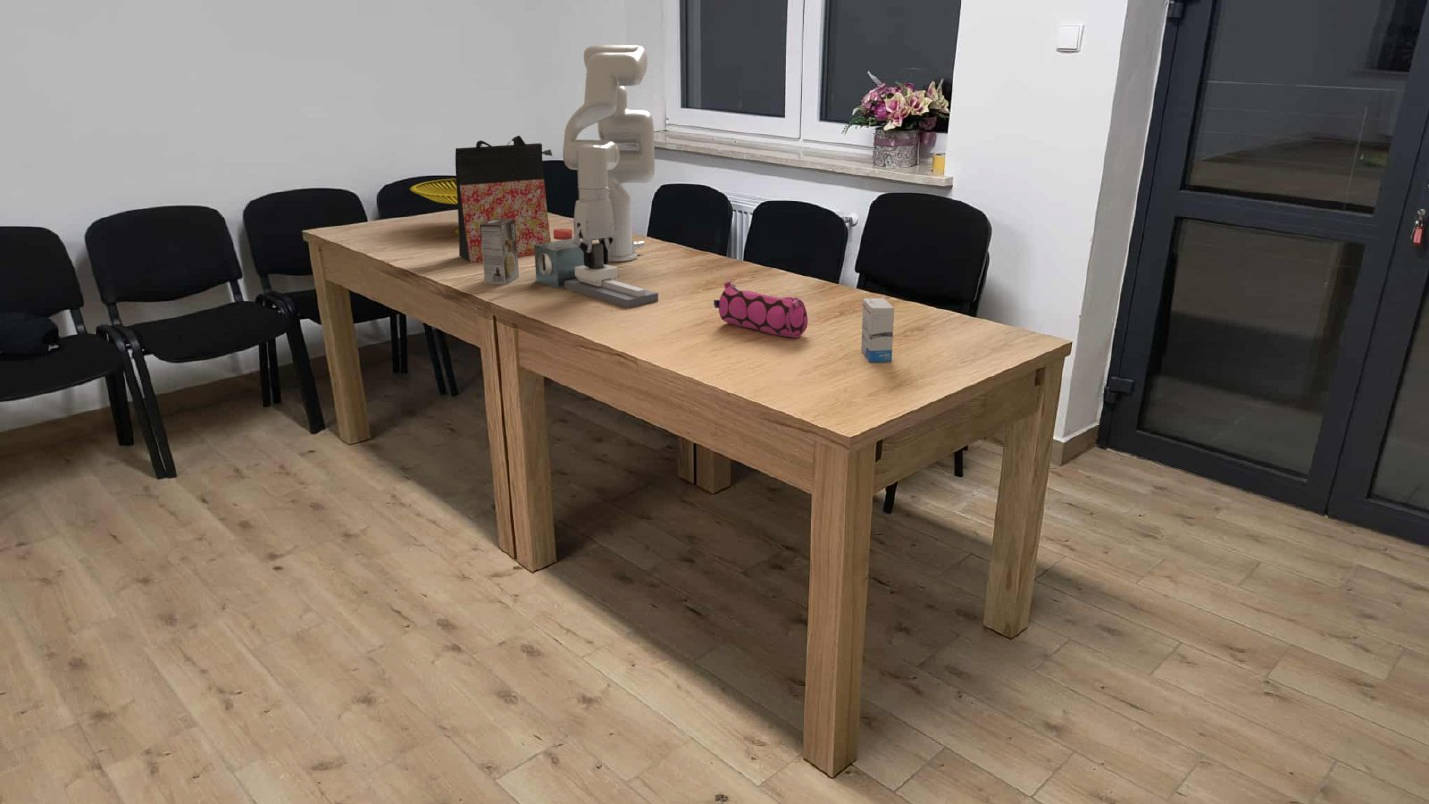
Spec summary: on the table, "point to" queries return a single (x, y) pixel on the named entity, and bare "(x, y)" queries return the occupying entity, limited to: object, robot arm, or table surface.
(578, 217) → the robot arm
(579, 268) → the carriage
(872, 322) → the ink box
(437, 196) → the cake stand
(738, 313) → the pencil case
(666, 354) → the table surface
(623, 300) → the rail bed
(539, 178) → the gift bag
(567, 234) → the button
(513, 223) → the coffee box
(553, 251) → the cabinet
